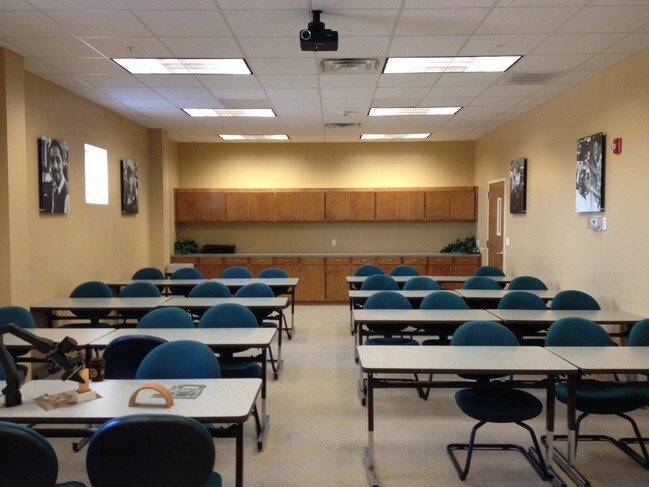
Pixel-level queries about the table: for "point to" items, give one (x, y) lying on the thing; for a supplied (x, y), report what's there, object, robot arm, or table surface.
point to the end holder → (84, 395)
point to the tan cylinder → (85, 375)
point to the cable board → (57, 400)
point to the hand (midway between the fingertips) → (86, 381)
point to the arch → (158, 388)
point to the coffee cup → (97, 369)
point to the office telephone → (181, 391)
